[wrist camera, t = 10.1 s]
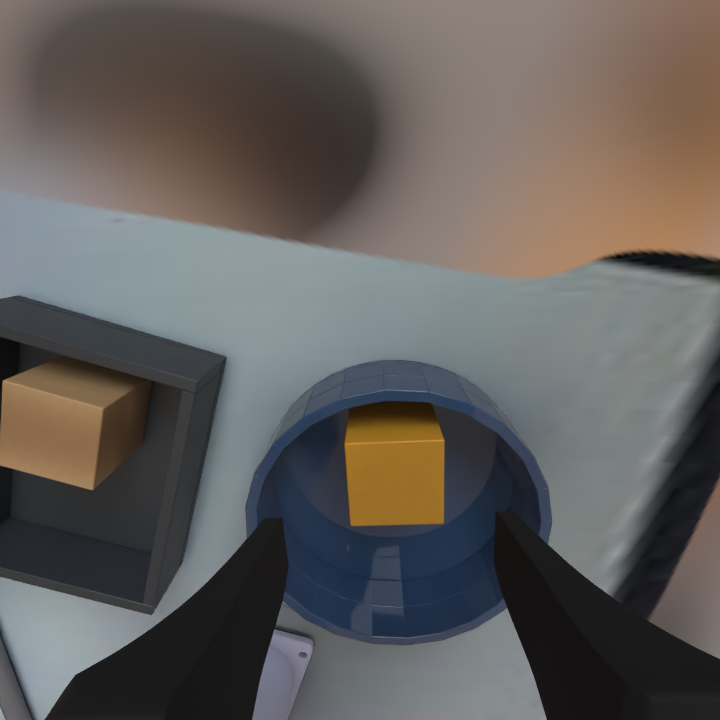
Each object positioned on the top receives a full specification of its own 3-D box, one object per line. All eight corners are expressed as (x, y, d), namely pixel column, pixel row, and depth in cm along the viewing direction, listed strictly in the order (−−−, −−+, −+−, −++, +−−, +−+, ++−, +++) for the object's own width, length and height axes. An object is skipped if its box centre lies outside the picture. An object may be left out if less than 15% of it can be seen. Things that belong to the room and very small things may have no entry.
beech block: (142, 444, 22) (92, 491, 18) (65, 423, 21) (-2, 465, 18) (153, 375, 20) (103, 408, 17) (72, 351, 20) (1, 379, 16)
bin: (182, 562, 24) (151, 615, 21) (6, 516, 24) (-54, 563, 20) (226, 356, 20) (198, 381, 17) (18, 295, 20) (-54, 308, 17)
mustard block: (431, 472, 22) (444, 524, 18) (354, 474, 22) (349, 527, 18) (431, 400, 20) (444, 439, 16) (349, 403, 20) (343, 443, 17)
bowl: (465, 604, 25) (482, 673, 21) (244, 544, 24) (219, 605, 20) (563, 404, 21) (606, 444, 17) (302, 326, 20) (286, 348, 16)
